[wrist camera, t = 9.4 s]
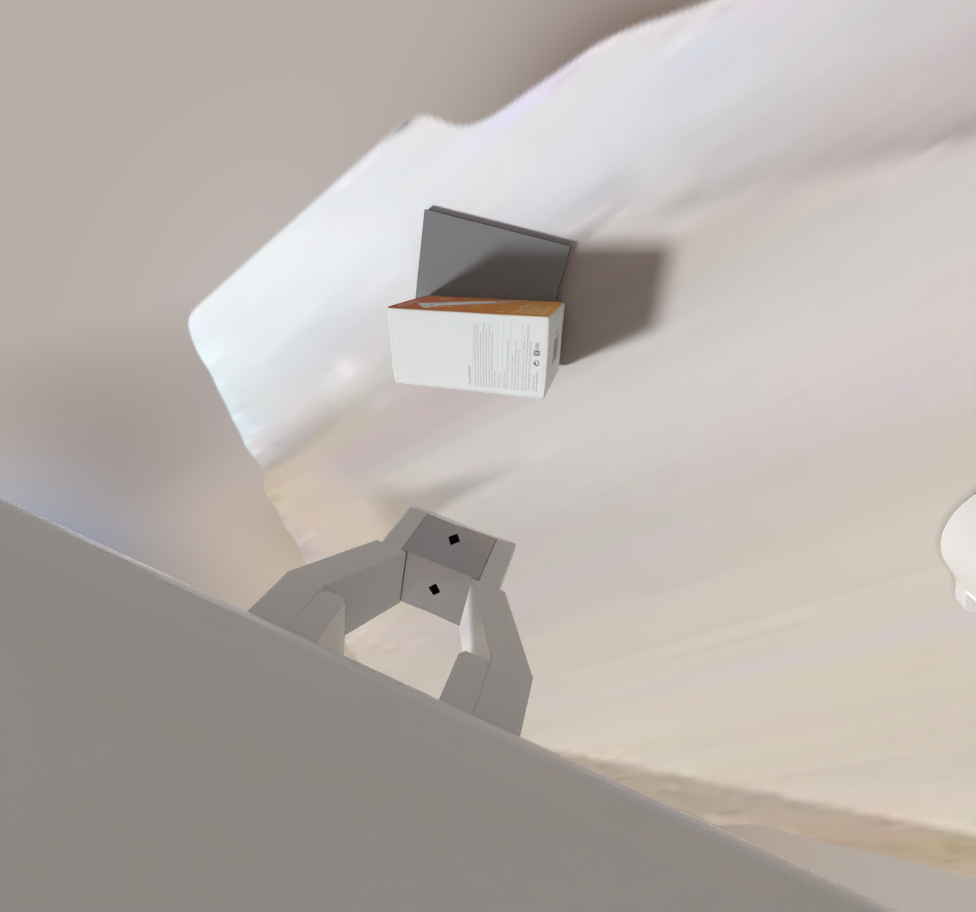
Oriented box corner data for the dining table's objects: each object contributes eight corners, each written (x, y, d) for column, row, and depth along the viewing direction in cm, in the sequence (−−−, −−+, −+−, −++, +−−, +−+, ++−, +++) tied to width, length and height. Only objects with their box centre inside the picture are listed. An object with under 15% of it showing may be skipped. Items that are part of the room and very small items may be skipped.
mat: (570, 246, 33) (570, 246, 33) (533, 380, 39) (531, 382, 39) (427, 209, 35) (424, 209, 34) (413, 343, 41) (410, 344, 41)
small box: (551, 315, 28) (384, 306, 31) (545, 401, 31) (393, 384, 34) (565, 299, 35) (427, 293, 38) (559, 371, 38) (431, 360, 41)
